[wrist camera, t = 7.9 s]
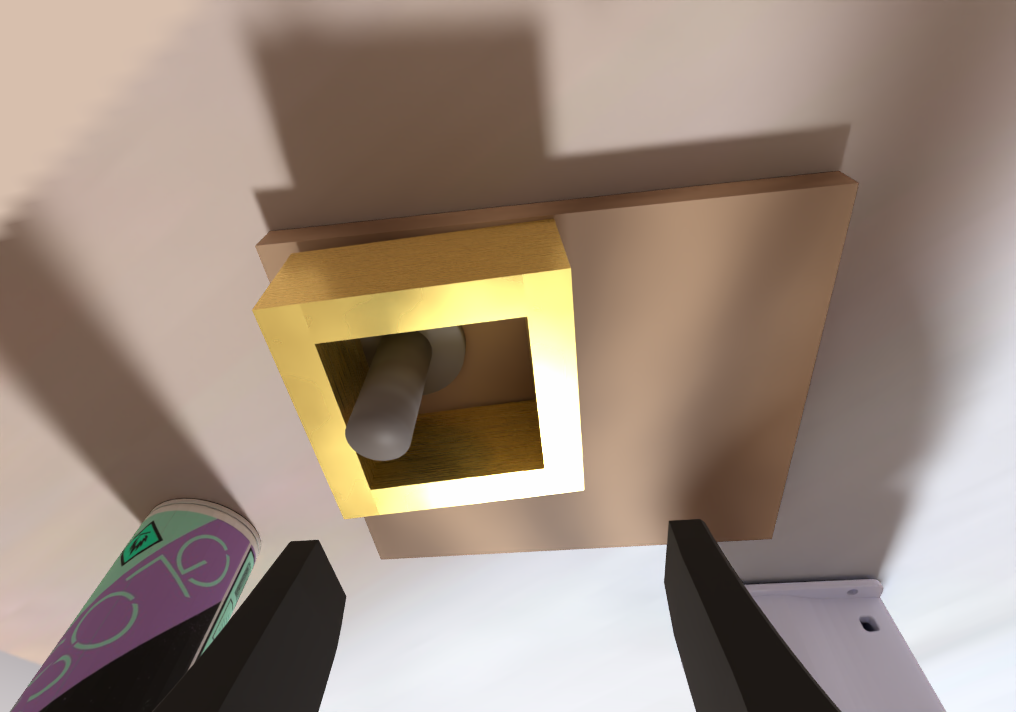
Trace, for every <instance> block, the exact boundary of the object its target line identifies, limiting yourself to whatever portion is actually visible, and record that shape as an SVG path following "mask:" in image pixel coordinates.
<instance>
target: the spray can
mask: <svg viewBox="0 0 1016 712" xmlns="http://www.w3.org/2000/svg"><path fill="white" fill-rule="evenodd" d="M260 549H261V541H260V538H259V535H258V533H257V532H256V530H255V529H254V527H253V526H252V525H251V524H250V523H249V522H248V521H247V520H246V519H244V518H243V517H242V516H240V515H239V514H237V513H235V512H234V511H232V510H230V509H228V508H226V507H223V506H221V505H218V504H215V503H212V502H208V501H203V500H198V499H174V500H170V501H166V502H164V503H162V504H160V505H158V506H156V507H155V508H154V509H153V510H152V511H151V512H150V514H149V515H148V516H147V517H146V519H145V520H144V521H143V523H142V524H141V526H140V527H139V529H138V530H137V531H136V533H135V534H134V536H133V537H132V539H131V540H130V541H129V543H128V544H127V546H126V547H125V548H124V550H123V551H122V553H121V554H120V556H119V557H118V558H117V560H116V561H115V563H114V564H113V566H112V567H111V568H110V570H109V571H108V573H107V574H106V576H105V577H104V578H103V580H102V581H101V583H100V584H99V586H98V587H97V588H96V590H95V591H94V593H93V594H92V595H91V597H90V598H89V600H88V601H87V603H86V604H85V605H84V607H83V608H82V610H81V611H80V613H79V614H78V615H77V617H76V618H75V620H74V621H73V623H72V624H71V625H70V627H69V628H68V630H67V631H66V633H65V634H64V635H63V637H62V638H61V640H60V641H59V642H58V644H57V645H56V647H55V648H54V650H53V651H52V652H51V654H50V655H49V657H48V658H47V660H46V661H45V662H44V664H43V665H42V667H41V668H40V670H39V671H38V672H37V674H36V675H35V677H34V678H33V680H32V681H31V682H30V684H29V685H28V687H27V688H26V689H25V691H24V692H23V694H22V695H21V697H20V698H19V699H18V701H17V702H16V704H15V705H14V707H13V708H12V710H11V711H10V712H152V711H153V710H154V709H155V708H156V707H157V706H158V705H159V703H160V702H161V701H162V700H163V699H164V698H165V697H166V696H167V695H168V693H169V692H170V691H171V690H172V689H173V688H174V686H175V685H176V684H177V683H178V682H179V681H180V679H181V678H182V677H183V676H184V675H185V674H186V672H187V671H188V670H189V669H190V668H191V667H192V665H193V664H194V663H195V662H196V661H197V660H198V658H199V657H200V656H201V655H202V654H203V652H204V651H205V650H206V649H207V648H208V646H209V645H210V644H211V643H212V641H213V640H214V639H215V638H216V636H217V635H218V634H219V633H220V631H221V630H222V629H223V628H224V626H225V625H226V624H227V623H228V621H229V619H230V616H231V614H232V612H233V610H234V608H235V606H236V603H237V601H238V599H239V597H240V595H241V593H242V590H243V588H244V586H245V584H246V582H247V580H248V577H249V575H250V573H251V571H252V569H253V566H254V564H255V562H256V559H257V557H258V554H259V552H260Z"/></svg>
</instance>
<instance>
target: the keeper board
mask: <svg viewBox="0 0 1016 712" xmlns="http://www.w3.org/2000/svg"><path fill="white" fill-rule="evenodd" d="M858 185H859V183H858V182H856V181H855V180H853V179H851V178H850V177H848V176H846V175H845V174H843V173H842V172H840V171H834V172H824V173H815V174H805V175H796V176H787V177H777V178H768V179H758V180H749V181H739V182H730V183H721V184H711V185H702V186H692V187H683V188H674V189H664V190H655V191H645V192H636V193H626V194H617V195H608V196H598V197H589V198H579V199H570V200H561V201H551V202H542V203H532V204H523V205H513V206H504V207H495V208H485V209H476V210H466V211H457V212H448V213H438V214H429V215H419V216H410V217H401V218H391V219H382V220H372V221H363V222H353V223H344V224H335V225H325V226H316V227H306V228H297V229H288V230H278V231H270V232H269V233H268V234H267V235H266V236H265V237H264V238H263V239H262V240H261V241H260V242H259V243H258V244H257V245H256V246H255V247H256V249H257V252H258V254H259V257H260V259H261V262H262V264H263V267H264V269H265V272H266V274H267V277H268V279H269V282H270V283H271V282H272V281H273V279H274V278H275V276H276V275H277V273H278V272H279V270H280V269H281V267H282V266H283V265H284V263H285V262H286V260H287V259H288V257H289V256H290V254H291V253H299V252H306V251H314V250H321V249H328V248H336V247H343V246H351V245H358V244H366V243H373V242H381V241H388V240H396V239H403V238H411V237H418V236H426V235H433V234H441V233H448V232H456V231H463V230H471V229H478V228H486V227H493V226H500V225H508V224H515V223H523V222H530V221H538V220H545V219H553V218H554V220H555V223H556V226H557V229H558V232H559V235H560V238H561V241H562V243H563V246H564V249H565V252H566V255H567V258H568V261H569V264H570V267H571V277H572V294H573V311H574V327H575V344H576V361H577V378H578V394H579V411H580V428H581V445H582V461H583V478H584V490H582V491H573V492H565V493H557V494H549V495H540V496H532V497H524V498H516V499H507V500H499V501H491V502H482V503H474V504H466V505H458V506H449V507H441V508H433V509H425V510H416V511H408V512H400V513H391V514H383V515H375V516H367V517H364V518H365V521H366V523H367V526H368V528H369V531H370V533H371V536H372V538H373V541H374V543H375V546H376V548H377V551H378V553H379V556H380V558H381V559H399V558H418V557H437V556H456V555H475V554H494V553H513V552H532V551H551V550H570V549H589V548H608V547H628V546H647V545H666V544H667V538H668V524H669V521H671V520H690V519H701V520H703V521H704V522H705V523H706V525H707V526H708V528H709V530H710V532H711V533H712V535H713V537H714V539H715V540H716V542H723V541H742V540H761V539H772V536H773V532H774V528H775V524H776V520H777V516H778V512H779V507H780V503H781V499H782V495H783V491H784V487H785V483H786V479H787V475H788V471H789V467H790V463H791V459H792V454H793V450H794V446H795V442H796V438H797V434H798V430H799V426H800V422H801V418H802V414H803V410H804V405H805V401H806V397H807V393H808V389H809V385H810V381H811V377H812V373H813V369H814V365H815V361H816V357H817V352H818V348H819V344H820V340H821V336H822V332H823V328H824V324H825V320H826V316H827V312H828V308H829V303H830V299H831V295H832V291H833V287H834V283H835V279H836V275H837V271H838V267H839V263H840V259H841V254H842V250H843V246H844V242H845V238H846V234H847V230H848V226H849V222H850V218H851V214H852V210H853V206H854V201H855V197H856V193H857V189H858ZM359 339H360V342H361V345H362V348H363V351H364V354H365V357H366V361H367V364H368V367H369V370H368V373H367V375H366V378H365V380H364V383H363V385H362V388H361V391H360V393H359V396H358V398H357V401H356V403H355V406H354V408H353V411H352V413H351V416H350V418H349V421H348V423H347V426H346V429H345V437H346V440H347V442H348V444H349V445H350V447H351V448H352V449H353V450H354V451H356V452H357V453H358V454H360V455H362V456H364V457H366V458H369V459H373V460H378V461H388V460H393V459H396V458H399V457H401V456H402V455H404V454H405V453H406V452H407V450H408V449H409V447H410V444H411V440H412V436H413V432H414V428H415V423H416V419H417V415H418V414H425V413H433V412H441V411H449V410H457V409H465V408H473V407H481V406H489V405H497V404H505V403H512V402H520V401H528V400H535V397H534V388H533V380H532V371H531V363H530V354H529V346H528V337H527V329H526V321H525V317H519V318H511V319H503V320H496V321H488V322H480V323H473V324H465V325H457V326H449V327H442V328H434V329H426V330H418V331H411V332H403V333H395V334H388V335H380V336H372V337H364V338H359Z"/></svg>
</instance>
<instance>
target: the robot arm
mask: <svg viewBox="0 0 1016 712" xmlns="http://www.w3.org/2000/svg"><path fill="white" fill-rule="evenodd" d="M664 584H665V589H666V595H667V600H668V606H669V611H670V616H671V622H672V627H673V632H674V636H675V640H676V643H677V647H678V651H679V654H680V657H681V662H682V666H683V668H684V671H685V675H686V678H687V682H688V685H689V689H690V692H691V695H692V699H693V702H694V706H695V709H696V712H946V710H945V709H944V707H943V705H942V704H941V702H940V700H939V698H938V697H937V695H936V693H935V691H934V690H933V688H932V686H931V685H930V683H929V681H928V679H927V678H926V676H925V674H924V672H923V671H922V669H921V667H920V666H919V664H918V662H917V660H916V659H915V657H914V655H913V653H912V652H911V650H910V648H909V647H908V645H907V643H906V641H905V640H904V638H903V636H902V634H901V633H900V631H899V629H898V628H897V626H896V624H895V622H894V621H893V619H892V617H891V615H890V614H889V612H888V610H887V609H886V607H885V605H884V603H883V602H882V600H881V598H880V596H881V594H882V592H883V586H882V585H881V583H880V582H879V581H878V580H876V579H860V580H838V581H816V582H795V583H773V584H751V585H744V584H743V583H742V581H741V580H740V578H739V577H738V575H737V574H736V572H735V571H734V569H733V568H732V566H731V564H730V563H729V561H728V560H727V558H726V557H725V555H724V553H723V552H722V550H721V549H720V547H719V545H718V544H717V542H716V540H715V539H714V537H713V535H712V533H711V532H710V530H709V528H708V526H707V525H706V523H705V522H704V521H703V520H701V519H690V520H671V521H669V524H668V538H667V551H666V564H665V578H664ZM345 601H346V595H345V593H344V591H343V589H342V587H341V585H340V583H339V581H338V579H337V577H336V575H335V572H334V570H333V568H332V566H331V564H330V562H329V560H328V558H327V556H326V554H325V552H324V550H323V548H322V546H321V544H320V542H319V540H308V541H291V542H290V543H289V544H288V545H287V547H286V548H285V549H284V550H283V552H282V553H281V554H280V555H279V557H278V558H277V559H276V561H275V562H274V563H273V565H272V566H271V567H270V569H269V570H268V571H267V572H266V574H265V575H264V576H263V578H262V579H261V580H260V582H259V583H258V584H257V586H256V587H255V588H254V589H253V591H252V592H251V593H250V595H249V596H248V597H247V598H246V600H245V601H244V602H243V604H242V605H241V606H240V608H239V609H238V610H237V611H236V613H235V614H234V615H233V616H232V618H231V619H230V620H229V621H228V623H227V624H226V625H225V626H224V628H223V629H222V630H221V631H220V633H219V634H218V635H217V636H216V638H215V639H214V640H213V641H212V643H211V644H210V645H209V646H208V648H207V649H206V650H205V651H204V652H203V654H202V655H201V656H200V657H199V658H198V660H197V661H196V662H195V663H194V664H193V665H192V667H191V668H190V669H189V670H188V671H187V672H186V674H185V675H184V676H183V677H182V678H181V679H180V681H179V682H178V683H177V684H176V685H175V686H174V688H173V689H172V690H171V691H170V692H169V693H168V695H167V696H166V697H165V698H164V699H163V700H162V701H161V702H160V703H159V705H158V706H157V707H156V708H155V709H154V710H153V711H152V712H318V711H319V708H320V704H321V701H322V698H323V694H324V691H325V688H326V684H327V681H328V678H329V674H330V671H331V667H332V664H333V660H334V657H335V653H336V650H337V646H338V640H339V635H340V630H341V625H342V619H343V613H344V607H345Z"/></svg>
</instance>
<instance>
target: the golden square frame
mask: <svg viewBox="0 0 1016 712" xmlns="http://www.w3.org/2000/svg"><path fill="white" fill-rule="evenodd" d="M252 311H253V313H254V315H255V318H256V320H257V322H258V325H259V327H260V329H261V331H262V334H263V336H264V338H265V340H266V343H267V345H268V347H269V350H270V352H271V354H272V356H273V359H274V361H275V363H276V365H277V368H278V370H279V372H280V375H281V377H282V379H283V381H284V384H285V386H286V388H287V391H288V393H289V395H290V397H291V400H292V402H293V404H294V406H295V409H296V411H297V413H298V416H299V418H300V420H301V422H302V425H303V427H304V429H305V431H306V434H307V436H308V438H309V441H310V443H311V445H312V447H313V450H314V452H315V454H316V456H317V459H318V461H319V463H320V466H321V468H322V470H323V472H324V475H325V477H326V479H327V482H328V484H329V486H330V488H331V491H332V493H333V495H334V497H335V500H336V502H337V504H338V507H339V509H340V511H341V513H342V516H343V518H344V519H350V518H358V517H367V516H375V515H383V514H391V513H400V512H408V511H416V510H425V509H433V508H441V507H449V506H458V505H466V504H474V503H482V502H491V501H499V500H507V499H516V498H524V497H532V496H540V495H549V494H557V493H565V492H573V491H582V490H584V478H583V461H582V445H581V428H580V411H579V394H578V378H577V361H576V344H575V327H574V311H573V294H572V277H571V267H570V264H569V261H568V258H567V255H566V252H565V249H564V246H563V243H562V241H561V238H560V235H559V232H558V229H557V226H556V223H555V220H554V218H553V219H545V220H538V221H530V222H523V223H515V224H508V225H500V226H493V227H486V228H478V229H471V230H463V231H456V232H448V233H441V234H433V235H426V236H418V237H411V238H403V239H396V240H388V241H381V242H373V243H366V244H358V245H351V246H343V247H336V248H328V249H321V250H314V251H306V252H299V253H291V254H290V256H289V257H288V259H287V260H286V262H285V263H284V265H283V266H282V267H281V269H280V270H279V272H278V273H277V275H276V276H275V278H274V279H273V281H272V282H271V283H270V285H269V286H268V288H267V289H266V291H265V292H264V294H263V295H262V296H261V298H260V299H259V301H258V302H257V304H256V305H255V307H254V308H253V309H252ZM519 317H525V321H526V329H527V337H528V346H529V354H530V363H531V371H532V380H533V388H534V397H535V400H528V401H520V402H512V403H505V404H497V405H489V406H481V407H473V408H465V409H457V410H449V411H441V412H433V413H425V414H418V415H417V419H416V423H415V428H414V432H413V436H412V440H411V444H410V447H409V449H408V450H407V452H406V453H405V454H404V455H402V456H401V457H399V458H396V459H393V460H388V461H378V460H373V459H369V458H366V457H364V456H362V455H360V454H358V453H357V452H356V451H354V450H353V449H352V448H351V447H350V445H349V444H348V442H347V440H346V437H345V429H346V426H347V423H348V421H349V418H350V416H351V413H352V411H353V408H354V406H355V403H356V401H357V398H358V396H359V393H360V391H361V388H362V385H363V383H364V380H365V378H366V375H367V373H368V370H369V367H368V364H367V361H366V357H365V354H364V351H363V348H362V345H361V342H360V339H359V338H364V337H372V336H380V335H388V334H395V333H403V332H411V331H418V330H426V329H434V328H442V327H449V326H457V325H465V324H473V323H480V322H488V321H496V320H503V319H511V318H519Z"/></svg>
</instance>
